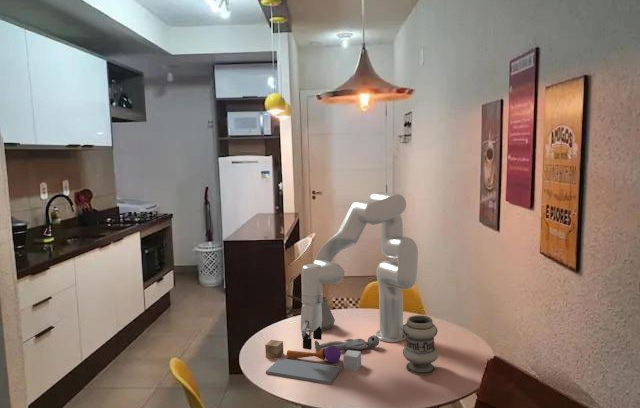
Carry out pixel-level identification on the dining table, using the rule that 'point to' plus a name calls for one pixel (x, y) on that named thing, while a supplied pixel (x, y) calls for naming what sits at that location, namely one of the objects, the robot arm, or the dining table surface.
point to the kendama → (318, 354)
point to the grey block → (352, 360)
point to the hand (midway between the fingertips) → (312, 343)
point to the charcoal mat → (304, 370)
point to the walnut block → (274, 349)
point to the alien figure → (349, 344)
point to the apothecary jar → (420, 344)
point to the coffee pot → (326, 313)
